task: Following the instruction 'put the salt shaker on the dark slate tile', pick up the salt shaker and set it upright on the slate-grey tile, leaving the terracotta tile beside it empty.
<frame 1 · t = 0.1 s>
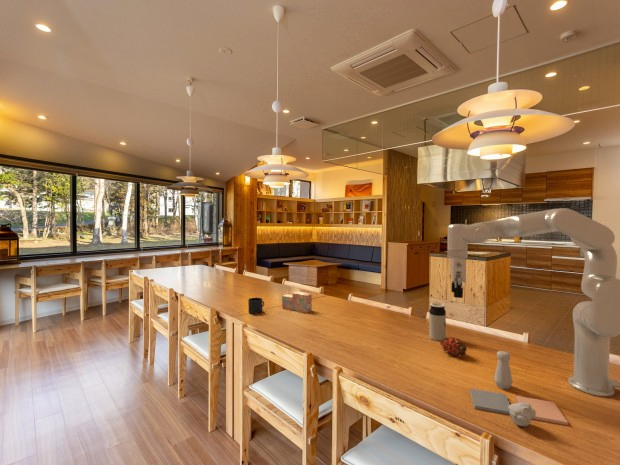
hand: (456, 294, 128), 31 cm above the table, tool pointing down, fingers open, 9 cm apart
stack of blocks: (296, 310, 217), on the table
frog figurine: (521, 425, 93), on the table
mug: (257, 312, 212), on the table
terracotta tile: (539, 411, 99), on the table
salt shaker: (503, 387, 114), on the table
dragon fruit: (453, 355, 142), on the table
slate tile: (490, 402, 104), on the table
travel mug: (437, 338, 162), on the table
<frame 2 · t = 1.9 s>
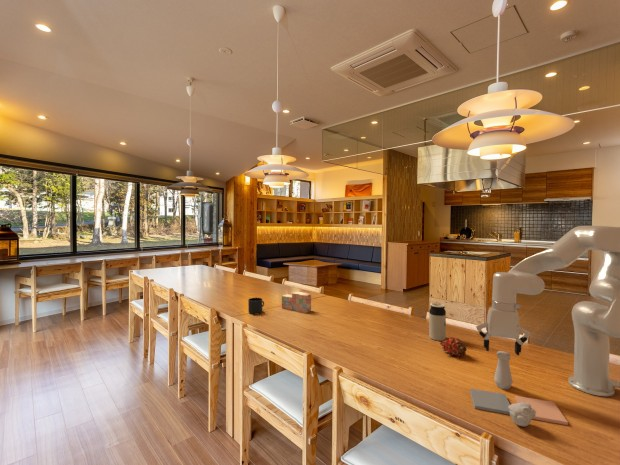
hand: (501, 351, 114), 13 cm above the table, tool pointing down, fingers open, 9 cm apart
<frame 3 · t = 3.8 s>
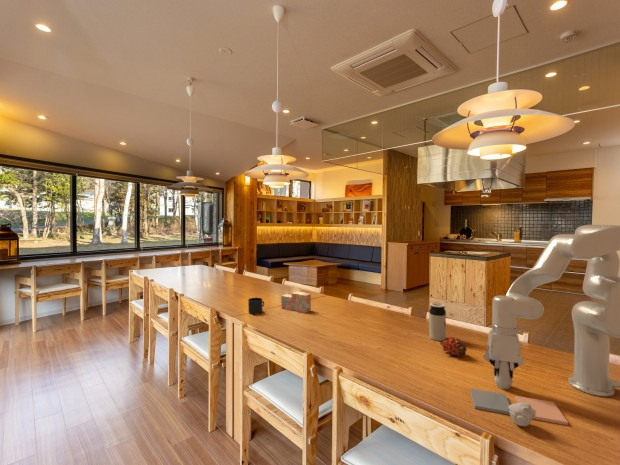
hand: (503, 378, 114), 3 cm above the table, tool pointing down, fingers closed on salt shaker, 3 cm apart
salt shaker: (503, 387, 114), on the table, touching gripper
everything else where it was.
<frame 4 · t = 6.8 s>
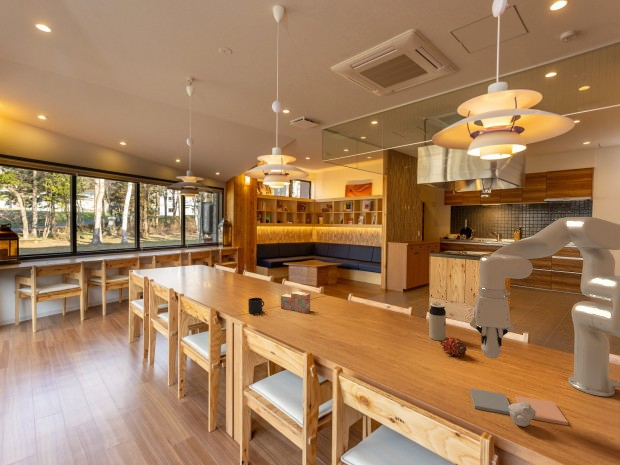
hand: (491, 346, 104), 19 cm above the table, tool pointing down, fingers closed on salt shaker, 3 cm apart
salt shaker: (491, 356, 104), point 16 cm above the table, touching gripper
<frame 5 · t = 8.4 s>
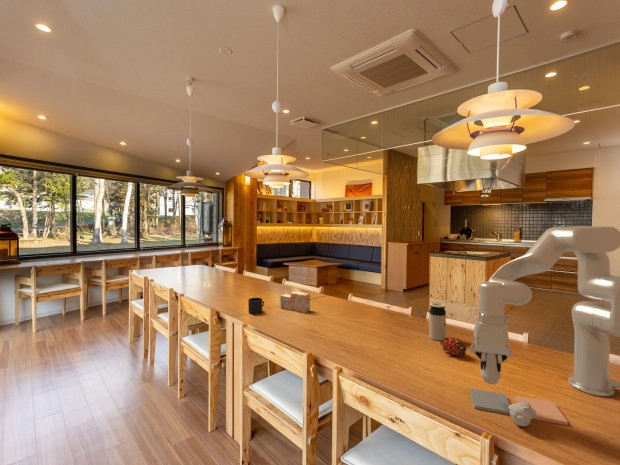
hand: (490, 372, 104), 11 cm above the table, tool pointing down, fingers closed on salt shaker, 3 cm apart
salt shaker: (490, 381, 104), point 7 cm above the table, touching gripper
when the fingers open (6 cm above the table, at t = 9.6 s): salt shaker drops 1 cm, resting on slate tile.
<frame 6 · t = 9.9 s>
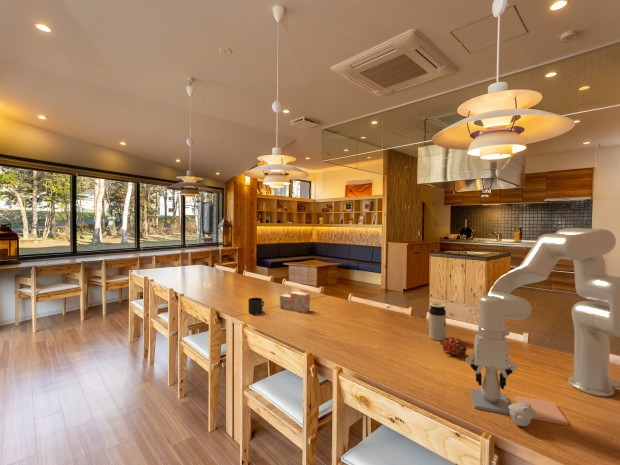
hand: (490, 385, 104), 6 cm above the table, tool pointing down, fingers open, 6 cm apart
salt shaker: (490, 399, 104), point 1 cm above the table, touching slate tile
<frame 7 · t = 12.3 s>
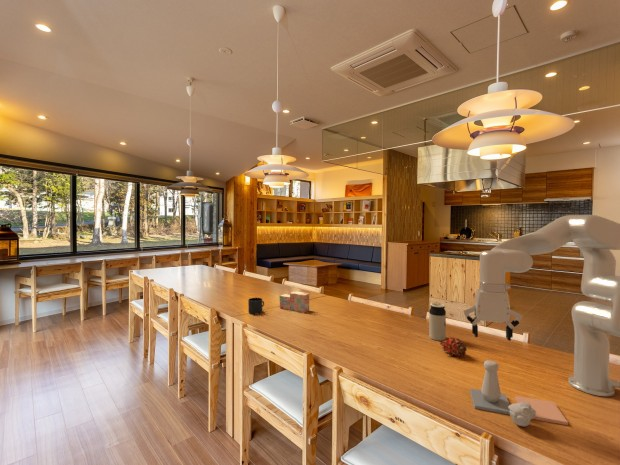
hand: (491, 337, 104), 22 cm above the table, tool pointing down, fingers open, 9 cm apart
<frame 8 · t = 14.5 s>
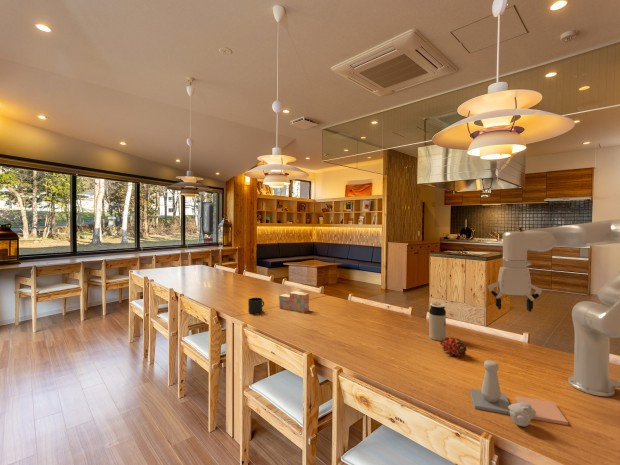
hand: (513, 309, 116), 28 cm above the table, tool pointing down, fingers open, 9 cm apart
at the end: salt shaker 0.2 cm off-centre on the slate tile, point 0.8 cm above the slate tile's base; salt shaker tilted 0°; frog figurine moved 0.2 cm from its start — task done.
